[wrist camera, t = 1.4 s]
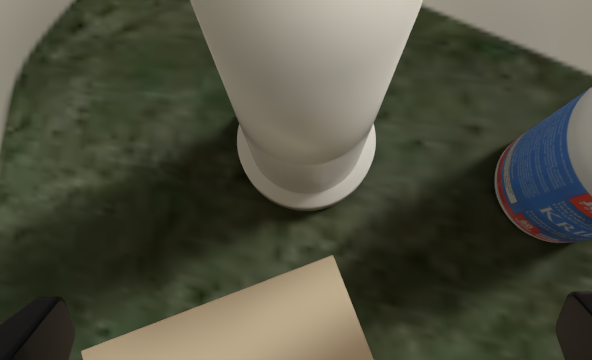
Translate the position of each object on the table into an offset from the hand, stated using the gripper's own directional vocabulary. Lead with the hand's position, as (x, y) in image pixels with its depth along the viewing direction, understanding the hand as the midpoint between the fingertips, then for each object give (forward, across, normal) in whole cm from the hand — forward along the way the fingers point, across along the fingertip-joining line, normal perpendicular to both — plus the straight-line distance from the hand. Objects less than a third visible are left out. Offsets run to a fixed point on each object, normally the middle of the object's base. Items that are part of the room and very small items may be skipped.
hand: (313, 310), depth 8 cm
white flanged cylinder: (+14, 0, +4) cm, 15 cm away
